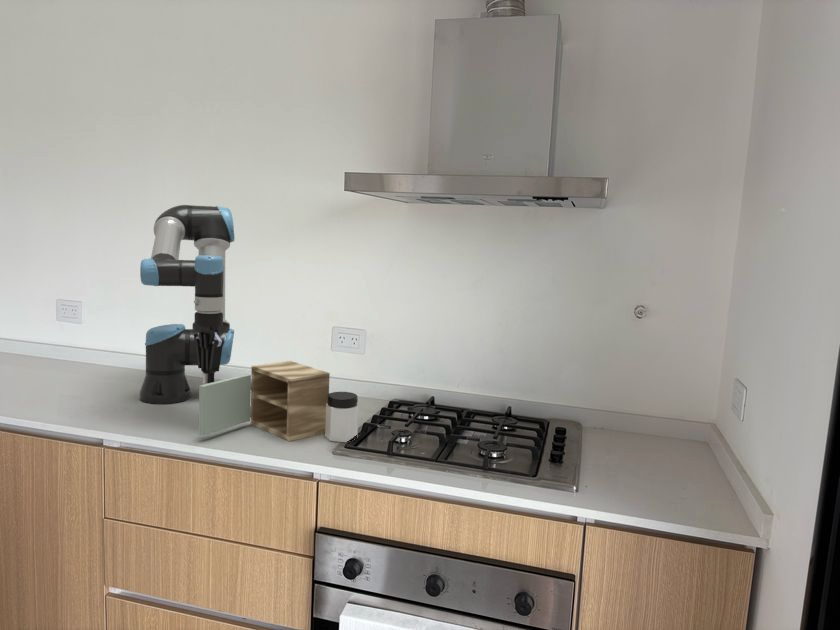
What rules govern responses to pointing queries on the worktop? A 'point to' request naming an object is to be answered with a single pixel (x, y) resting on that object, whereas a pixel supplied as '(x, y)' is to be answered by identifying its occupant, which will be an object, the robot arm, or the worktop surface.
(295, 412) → the cabinet
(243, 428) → the worktop surface
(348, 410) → the jar
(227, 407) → the door
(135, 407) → the worktop surface
